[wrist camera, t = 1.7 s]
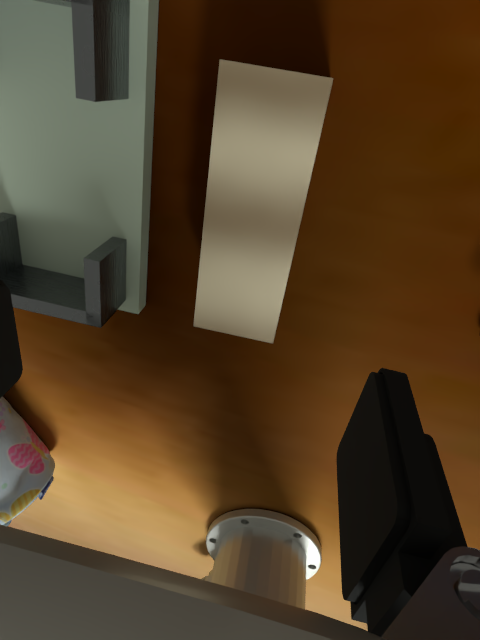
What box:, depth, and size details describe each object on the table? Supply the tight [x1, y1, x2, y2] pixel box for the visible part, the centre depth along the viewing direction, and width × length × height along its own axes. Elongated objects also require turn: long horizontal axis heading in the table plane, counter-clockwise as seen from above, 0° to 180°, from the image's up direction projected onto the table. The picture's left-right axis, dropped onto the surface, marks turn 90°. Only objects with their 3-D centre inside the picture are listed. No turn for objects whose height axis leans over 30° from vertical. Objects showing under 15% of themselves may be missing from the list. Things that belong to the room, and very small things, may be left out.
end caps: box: [0, 0, 130, 328], centre depth 24 cm, size 18×9×4 cm, turn 171°
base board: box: [0, 0, 159, 314], centre depth 26 cm, size 20×11×2 cm, turn 171°
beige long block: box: [193, 59, 333, 343], centre depth 24 cm, size 14×5×6 cm, turn 172°
